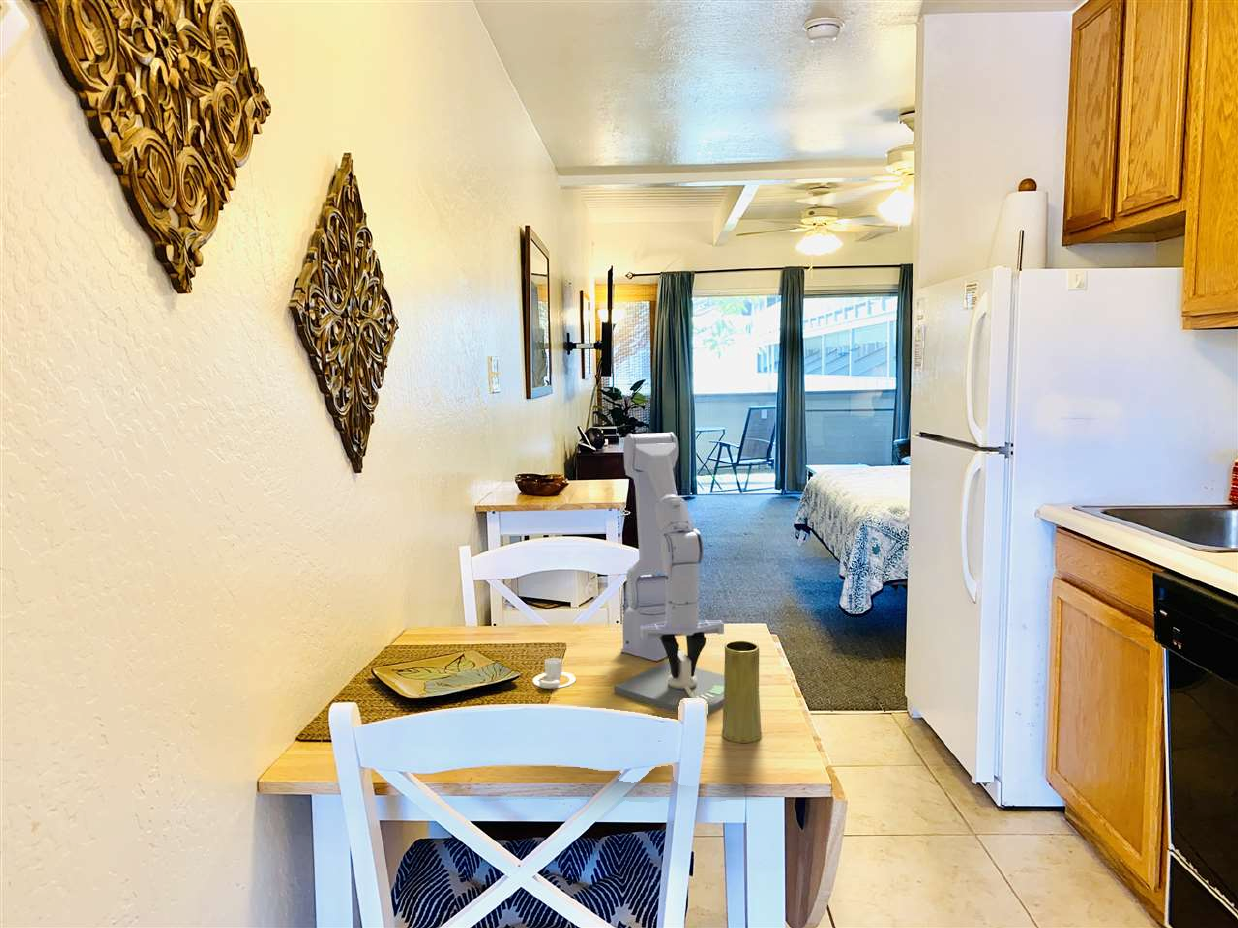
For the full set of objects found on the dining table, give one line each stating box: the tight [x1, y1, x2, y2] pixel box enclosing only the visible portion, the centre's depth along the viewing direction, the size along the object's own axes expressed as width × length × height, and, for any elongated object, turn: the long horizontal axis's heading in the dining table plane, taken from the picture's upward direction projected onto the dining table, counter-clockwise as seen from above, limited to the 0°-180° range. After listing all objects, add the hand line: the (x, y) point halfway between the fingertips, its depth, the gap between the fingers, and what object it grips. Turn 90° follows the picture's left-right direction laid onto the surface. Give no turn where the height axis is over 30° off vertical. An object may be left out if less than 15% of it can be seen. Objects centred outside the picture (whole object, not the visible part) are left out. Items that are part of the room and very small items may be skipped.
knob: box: [668, 649, 697, 698], centre depth 137 cm, size 11×5×5 cm, turn 10°
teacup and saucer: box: [531, 657, 577, 690], centre depth 146 cm, size 9×8×4 cm
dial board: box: [613, 659, 724, 716], centre depth 140 cm, size 18×16×1 cm
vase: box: [721, 639, 762, 744], centre depth 122 cm, size 6×6×14 cm
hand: (682, 675), depth 140 cm, fingers open, 2 cm apart
